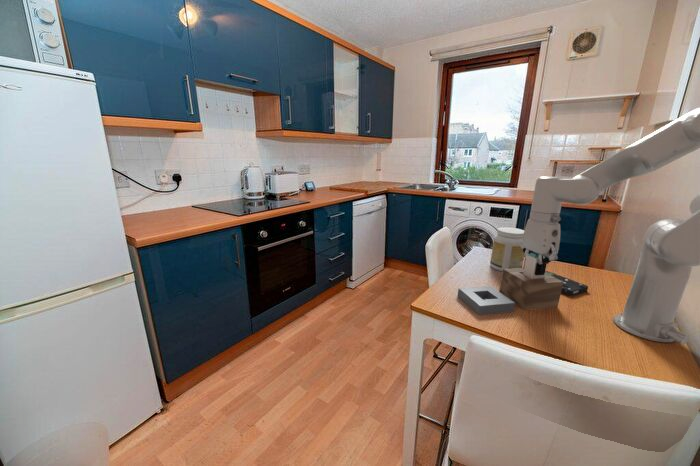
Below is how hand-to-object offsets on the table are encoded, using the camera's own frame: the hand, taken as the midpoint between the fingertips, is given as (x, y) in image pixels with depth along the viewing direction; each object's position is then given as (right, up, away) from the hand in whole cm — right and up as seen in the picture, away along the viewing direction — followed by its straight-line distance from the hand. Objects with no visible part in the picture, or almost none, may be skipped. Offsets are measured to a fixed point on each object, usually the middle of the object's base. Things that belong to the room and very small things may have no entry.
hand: (533, 271), depth 93 cm
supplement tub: (+7, -3, +30) cm, 31 cm away
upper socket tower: (0, -10, +3) cm, 10 cm away
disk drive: (+18, -8, +14) cm, 24 cm away
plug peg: (0, -5, +1) cm, 5 cm away
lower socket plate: (-16, -10, 0) cm, 19 cm away
